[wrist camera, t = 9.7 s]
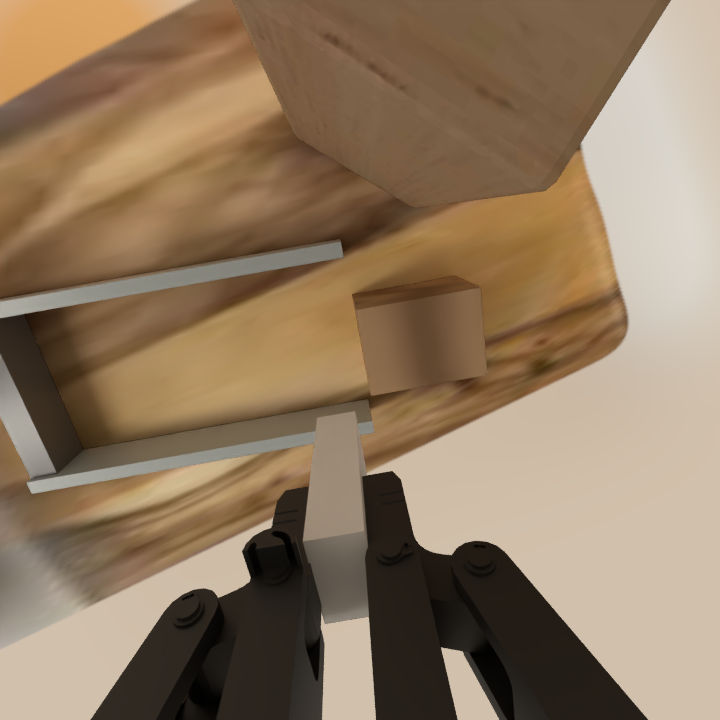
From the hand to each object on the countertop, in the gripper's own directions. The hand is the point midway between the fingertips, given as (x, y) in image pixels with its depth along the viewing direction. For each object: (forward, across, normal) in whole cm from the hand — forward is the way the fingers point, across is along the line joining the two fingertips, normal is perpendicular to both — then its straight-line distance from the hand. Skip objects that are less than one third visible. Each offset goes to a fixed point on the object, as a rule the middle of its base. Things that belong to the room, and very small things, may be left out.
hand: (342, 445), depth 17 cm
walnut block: (+18, +5, 0) cm, 18 cm away
